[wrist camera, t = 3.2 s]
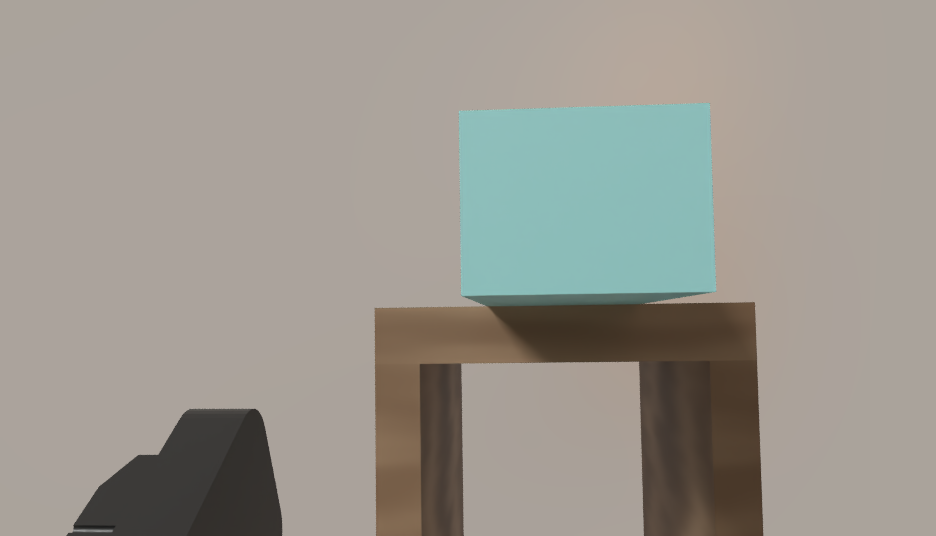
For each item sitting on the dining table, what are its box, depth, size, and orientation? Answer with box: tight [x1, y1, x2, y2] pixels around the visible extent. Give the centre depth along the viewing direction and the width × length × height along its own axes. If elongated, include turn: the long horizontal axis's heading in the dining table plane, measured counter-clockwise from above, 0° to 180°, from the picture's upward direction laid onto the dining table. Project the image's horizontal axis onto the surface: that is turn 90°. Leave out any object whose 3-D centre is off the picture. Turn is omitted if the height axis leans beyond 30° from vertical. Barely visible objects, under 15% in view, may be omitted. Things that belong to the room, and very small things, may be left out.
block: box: [459, 103, 716, 306], centre depth 24 cm, size 22×4×3 cm, turn 176°
